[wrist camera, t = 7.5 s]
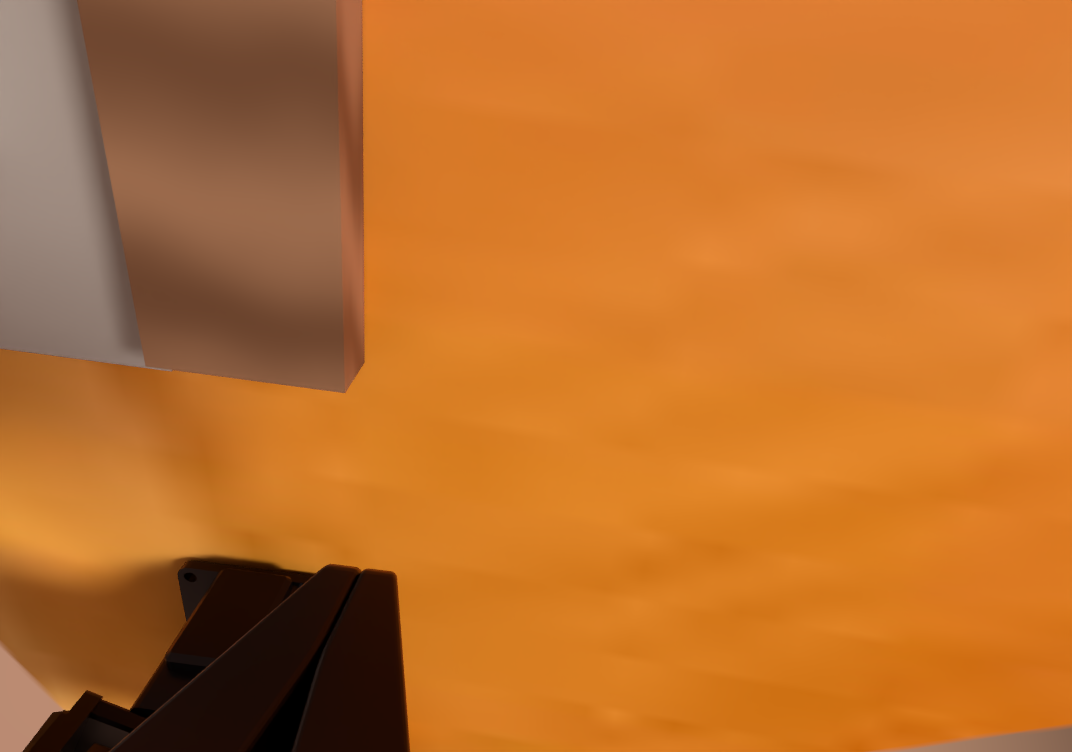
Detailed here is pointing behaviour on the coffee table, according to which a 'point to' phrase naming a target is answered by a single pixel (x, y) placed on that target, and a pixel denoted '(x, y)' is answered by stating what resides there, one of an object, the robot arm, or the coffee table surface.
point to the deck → (237, 181)
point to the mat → (57, 197)
